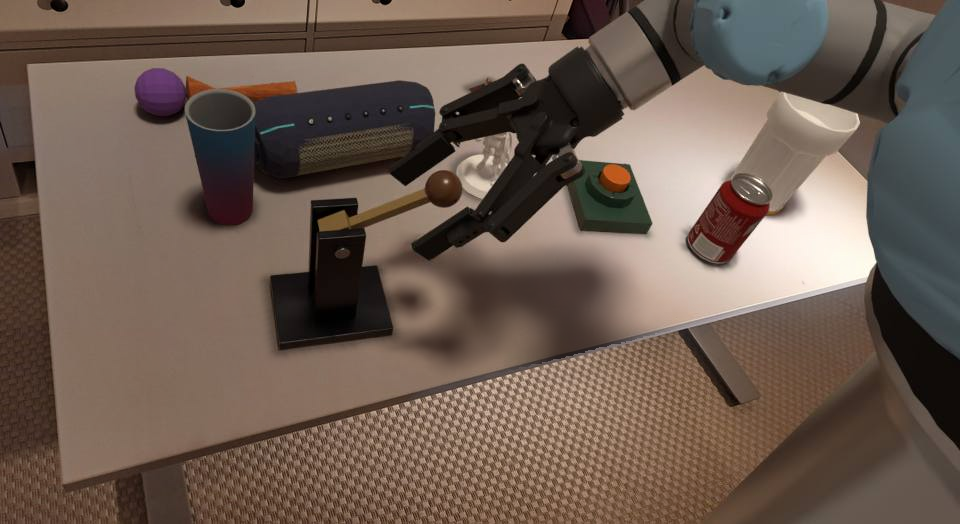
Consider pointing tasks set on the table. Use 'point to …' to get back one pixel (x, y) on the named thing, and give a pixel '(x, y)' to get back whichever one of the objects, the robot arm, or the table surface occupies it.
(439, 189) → the switch lever
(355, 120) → the portable speaker
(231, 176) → the cup
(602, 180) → the button
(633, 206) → the button box
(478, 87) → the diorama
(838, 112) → the cup
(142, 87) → the kendama
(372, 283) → the switch bracket
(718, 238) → the soda can
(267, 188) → the table surface
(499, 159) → the figurine
